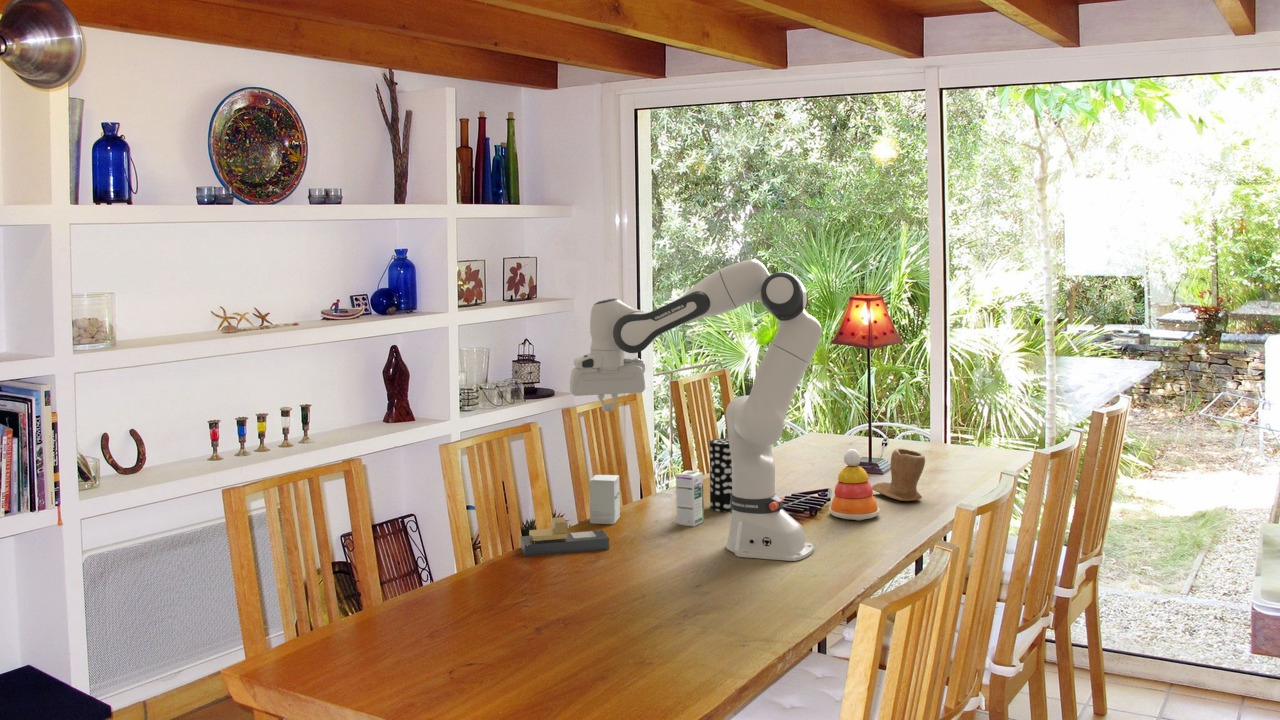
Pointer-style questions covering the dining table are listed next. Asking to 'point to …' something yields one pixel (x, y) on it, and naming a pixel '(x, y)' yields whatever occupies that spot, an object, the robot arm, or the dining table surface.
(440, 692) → the dining table surface
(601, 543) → the body
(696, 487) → the syrup box
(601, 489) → the supplement box
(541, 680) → the dining table surface
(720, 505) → the spotted tube
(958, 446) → the dining table surface
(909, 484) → the brown top hat
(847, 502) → the stacking toy
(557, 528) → the lever cap
